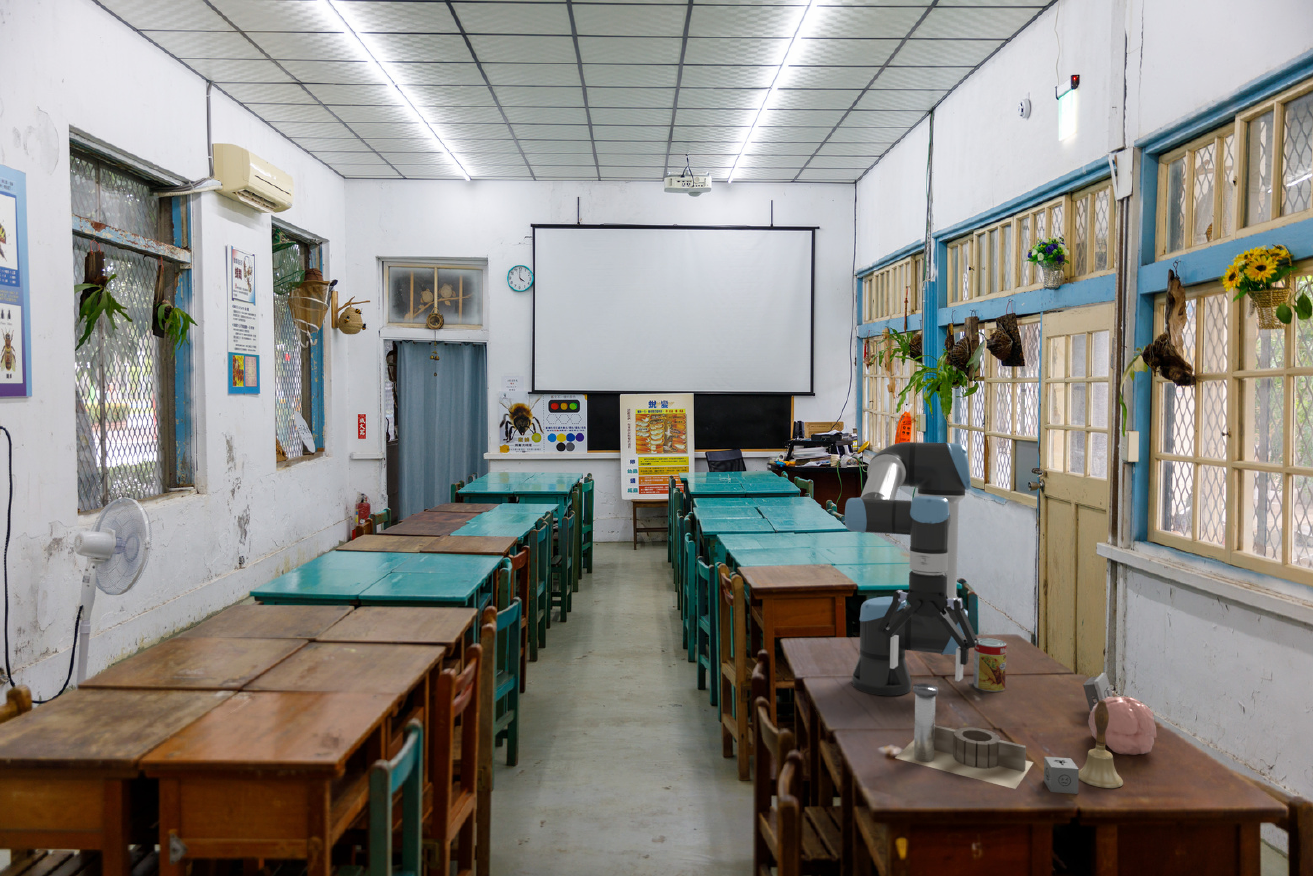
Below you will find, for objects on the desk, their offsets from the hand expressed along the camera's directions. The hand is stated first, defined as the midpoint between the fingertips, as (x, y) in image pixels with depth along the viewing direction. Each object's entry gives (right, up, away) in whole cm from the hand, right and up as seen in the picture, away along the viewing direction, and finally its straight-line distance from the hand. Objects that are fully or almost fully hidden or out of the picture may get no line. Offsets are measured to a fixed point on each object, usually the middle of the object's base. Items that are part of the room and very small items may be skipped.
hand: (925, 673), depth 179 cm
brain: (+46, -19, +11) cm, 51 cm away
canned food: (+32, -17, +49) cm, 62 cm away
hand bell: (+33, -20, -5) cm, 39 cm away
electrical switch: (+52, -18, +31) cm, 63 cm away
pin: (0, -18, +1) cm, 18 cm away
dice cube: (+24, -20, -9) cm, 32 cm away
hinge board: (+8, -19, 0) cm, 21 cm away
